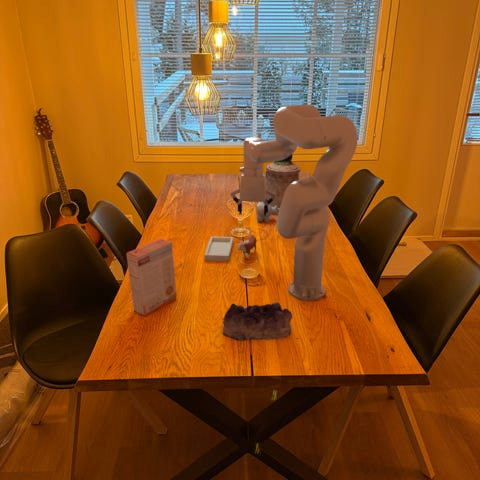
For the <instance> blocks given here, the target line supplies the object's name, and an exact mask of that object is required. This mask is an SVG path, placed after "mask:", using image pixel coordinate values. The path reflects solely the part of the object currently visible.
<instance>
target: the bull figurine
mask: <svg viewBox="0 0 480 480" xmlns="http://www.w3.org/2000/svg"><path fill="white" fill-rule="evenodd" d="M253 249H254V251H253V253H254V254H255V253H257V237H256V236H255V235H253V234H252V235H251V236H249V237H248V238H247V239H245V241H239V243H238V245H237V247H236V250H237V251H242V252H243V257H245V258H246V256H247V257H249V258H250V255H251V250H253ZM246 254H247V255H246ZM243 257H242V258H243Z"/></svg>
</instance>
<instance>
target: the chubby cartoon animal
mask: <svg viewBox="0 0 480 480" xmlns="http://www.w3.org/2000/svg"><path fill="white" fill-rule="evenodd" d="M276 206H277V205H275V207H271V206H270V205H268V213H266V216H264V203H262V204H260V205H259V206H258V207H257V206H256V214H257V217H256V219H257V222H259V223H261V222H265V223H269V222H270V221H271V220H270V217H271V216H276V217H277V216H278V212H279V208H278V207H276Z"/></svg>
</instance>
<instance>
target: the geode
mask: <svg viewBox="0 0 480 480" xmlns="http://www.w3.org/2000/svg"><path fill="white" fill-rule="evenodd" d="M292 319H293V314H292V312H291V311H290V310H289V309H288V308H284V309H283V308H282V306H281V303H280V302H279V301H277V302H272V303H271V304H270V303H266V304H264V305H259V304H257V305H256V304H254V305H253V304H252V305H248V306H247V307H245V308H244V306H243V305H242V304H241V305H236V304H235V303H231V305H230V306H229V307H228V309H227V311H226V312H225V314H224V317H223V318H222V320H223V321H222V323H223V327H222V335H223V336H225V337H226V338H229V339H232V340H235V341H249V340H250V341H251V340H252V341H253V340H255V341H256V340H257V341H258V340H260V341H262V340H266V341H267V340H275V339H283V338H284V339H285V338H288V337H289V336H291V334H292V332H293V331H292V325H291V320H292Z"/></svg>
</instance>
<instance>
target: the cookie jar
mask: <svg viewBox="0 0 480 480" xmlns="http://www.w3.org/2000/svg"><path fill="white" fill-rule="evenodd" d="M292 160H293V154H291V155H290V156H289V157H287V158H285V159H283V160H280V161H273V162H272V163H270V164H268V165H266V167H265V168H266V170H265V176H266V189H267V190H269V191H271V192H273V193H275V194H276V196H275V198H274V199H273V201H272V202H271V203H270V204H269V205H270V206H271V207H275V205H277V206H276V207H278V208H279V209H280V206H281V203H282V199H283V196H284V193H285V191H286V189H287V187H288V186H289V185H290V184H291V183H292V182H294V181H297V180H300V179H299V175H300V172H301V168H300V166H299V165H298V164H297V163H295V162H293V161H292ZM270 198H271V196H270V195H268V194H267V193H266V199H267V200H269V199H270ZM262 203H263V202H257V204H256V208H257V207H258V206H259V205H260V204H262Z"/></svg>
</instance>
